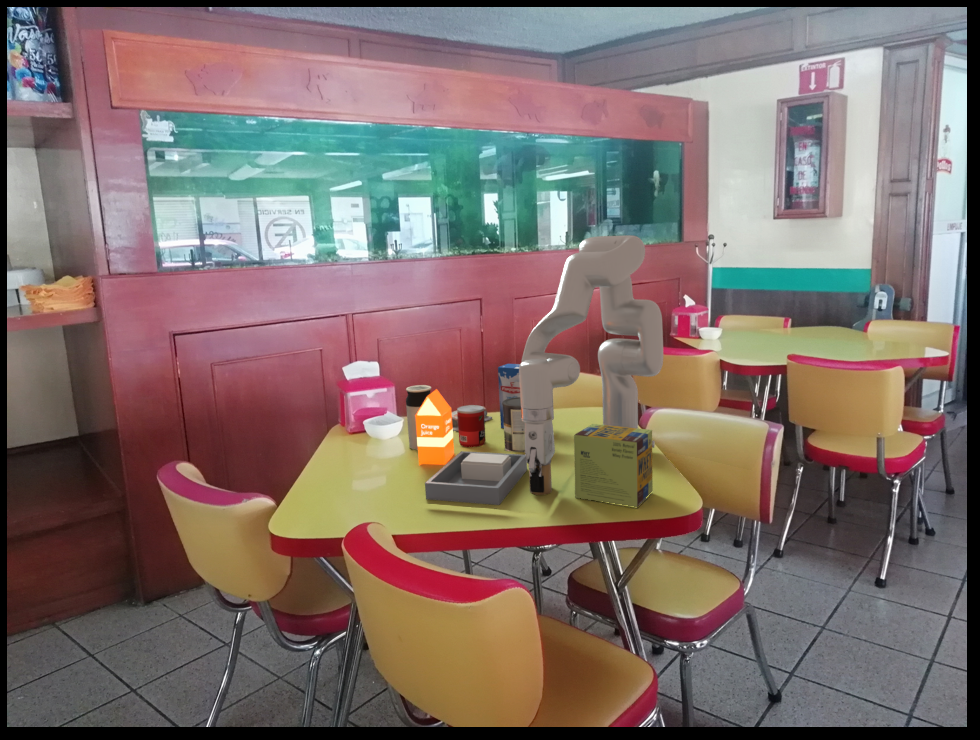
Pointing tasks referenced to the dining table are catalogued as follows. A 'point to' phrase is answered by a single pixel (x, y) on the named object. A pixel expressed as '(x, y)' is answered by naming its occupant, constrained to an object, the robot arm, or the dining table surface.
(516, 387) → the milk carton
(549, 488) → the amber jar
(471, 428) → the canned food
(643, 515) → the dining table surface
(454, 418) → the packaged product
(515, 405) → the coffee can
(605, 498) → the protein box
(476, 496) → the tray
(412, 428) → the travel mug
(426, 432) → the orange juice
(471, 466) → the egg box
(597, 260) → the robot arm
